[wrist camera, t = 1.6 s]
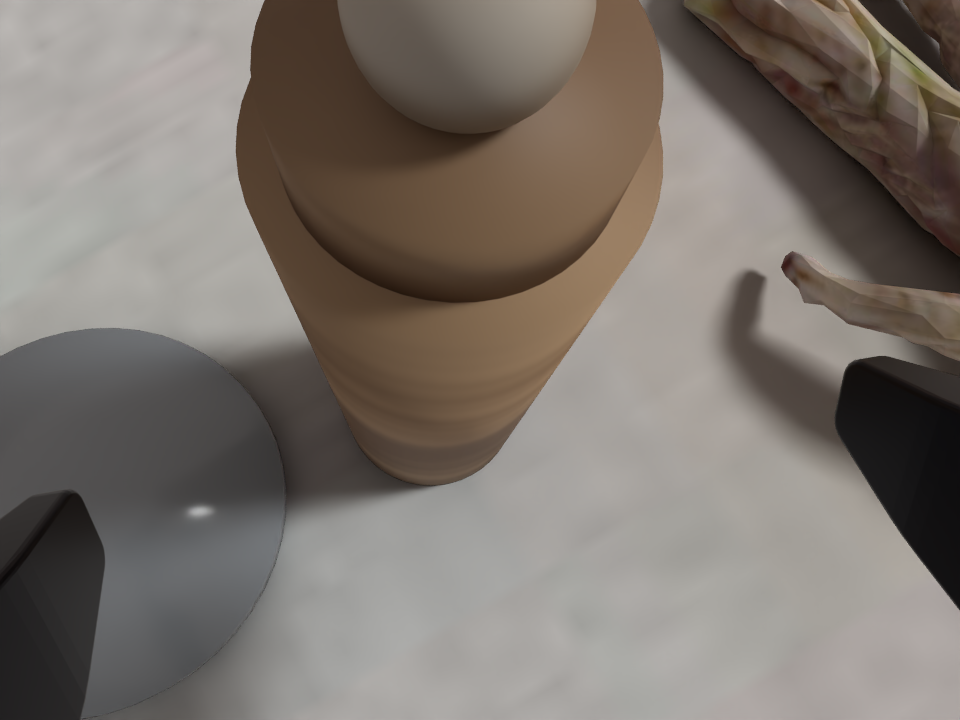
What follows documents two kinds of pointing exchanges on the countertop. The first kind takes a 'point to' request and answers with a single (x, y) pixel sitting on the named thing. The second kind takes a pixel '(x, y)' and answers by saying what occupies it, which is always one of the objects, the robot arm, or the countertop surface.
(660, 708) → the countertop surface
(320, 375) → the countertop surface
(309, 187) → the pepper mill
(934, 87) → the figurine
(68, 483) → the coaster
